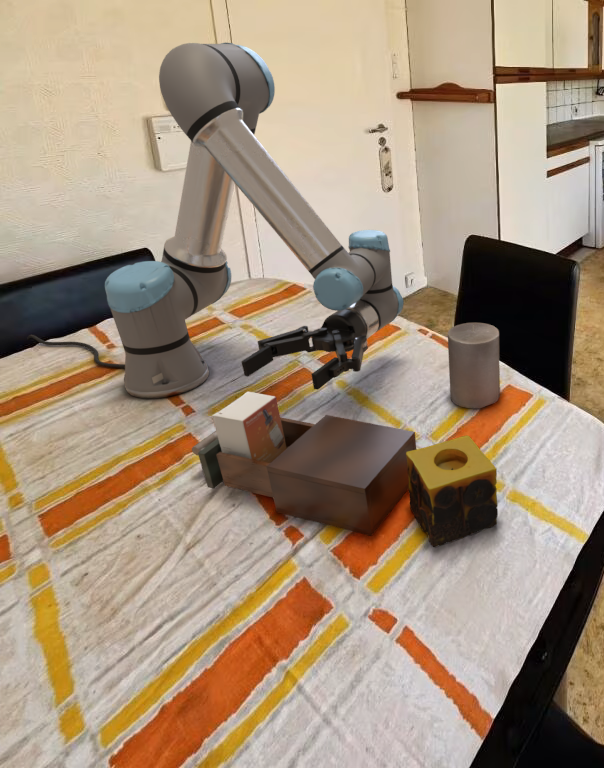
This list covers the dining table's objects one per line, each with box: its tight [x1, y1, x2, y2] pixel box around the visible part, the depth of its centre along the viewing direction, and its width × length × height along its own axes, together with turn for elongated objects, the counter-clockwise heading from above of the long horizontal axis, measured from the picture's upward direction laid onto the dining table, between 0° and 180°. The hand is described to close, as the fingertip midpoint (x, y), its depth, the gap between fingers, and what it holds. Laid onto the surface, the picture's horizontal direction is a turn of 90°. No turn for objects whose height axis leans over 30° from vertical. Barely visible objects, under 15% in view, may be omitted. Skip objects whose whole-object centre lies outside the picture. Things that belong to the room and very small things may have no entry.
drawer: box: [191, 416, 316, 498], centre depth 98 cm, size 20×14×6 cm
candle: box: [406, 435, 499, 548], centre depth 88 cm, size 10×10×10 cm
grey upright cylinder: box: [447, 322, 501, 409], centre depth 118 cm, size 10×10×15 cm
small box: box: [212, 391, 287, 463], centre depth 96 cm, size 8×6×10 cm
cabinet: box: [266, 414, 417, 537], centre depth 93 cm, size 16×15×8 cm
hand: (278, 375), depth 101 cm, fingers open, 13 cm apart
